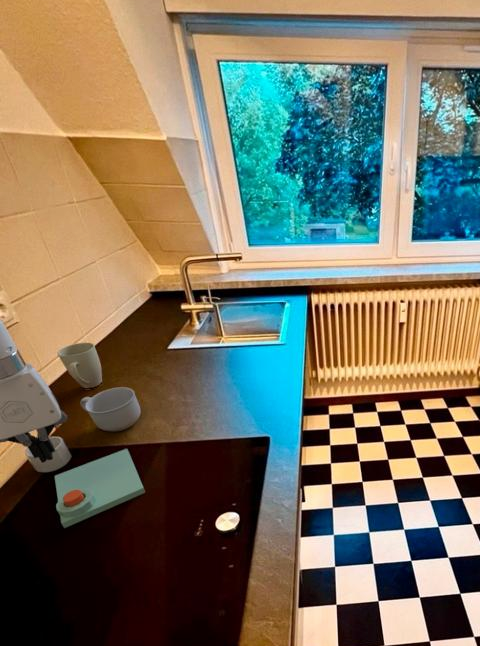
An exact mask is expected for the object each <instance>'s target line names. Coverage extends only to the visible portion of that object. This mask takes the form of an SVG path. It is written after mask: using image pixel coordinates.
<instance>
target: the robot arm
mask: <svg viewBox="0 0 480 646" xmlns="http://www.w3.org/2000/svg"><path fill="white" fill-rule="evenodd" d="M67 421H68V415H67V414H66V413H65V412H64V411H63V410H62V409H61V408H60V405H59V402H58V400H57V398H56V396H55V395H54V393H53V392H52V390H51V389H50V387H49V385H48V384H47V382H46V381H45V379H44V378H43V377H42V375H41V374H40V373H39V372H38V370H37V369H36V368H35V367H34V365H32V364H31V363H28V362H27V363H26V361H25V359H24V358H23V356H22V354H21V353H20V351H19V349H18V347H17V345H16V343H15V342H14V340H13V338H12V336H11V334H10V332H9V330H8V329H7V326H6V325H5V323H4V321H3V320H2V318H1V317H0V444H1V443H6V442H9V443H10V442H11V443H15V444H19V445H22V446H23V447H26V448H28V449H29V450H30V452H31V453H32V455H33V457H34V458H37V457H39V459H40V460H41V462H42V463H43V462H46V461H47V460H52V459H53V455H52V452H55V448H54V446H53V444H52V442H51V441H50V439H49V437H50V435H51V433H52V432H53V430H54V429H55V427H58V426H59V425H61V424H63V423H66V422H67ZM34 431H36V433H37V434H36V436H35V435H32V434H31V433H30V432H34Z"/></svg>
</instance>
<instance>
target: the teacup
mask: <svg viewBox="0 0 480 646" xmlns="http://www.w3.org/2000/svg"><path fill="white" fill-rule="evenodd" d="M79 404H80V406H81V408H82V409H83V410H84V411H85V412H87V413H88V414H89V416H90V418H91V420H92V421H93V423H94V425H95V426H96V427H97V428H99V429H100V430H102V431H106V432H121V431H125V430H127V429H129V428H131V427H132V426H134V425H135V424H136V422H137V421H138V419H139V418H140V416H141V412H142V411H141V410H142V409H141V407H140V404H139V402H138V398H137V396H136V392H135V391H134V390H133V389H132V388H130V387H125V386H122V387H121V386H120V387H113V388H108V389H106V390H102V391H100V392H98V393H96V394H95V395H92V397H90V396H85V397H83V398H82V399H81V400H80V402H79Z"/></svg>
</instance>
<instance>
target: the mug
mask: <svg viewBox="0 0 480 646" xmlns="http://www.w3.org/2000/svg"><path fill="white" fill-rule="evenodd" d="M56 354H57V356H58V357H59V359H60V361H61V363H62V364H63V366H64V368H65V369H66V371H67V372H68V374H69V375H70V376H71V377H72V379H74V380H75V381H76V383H78V384H79V385H80V386H81V387H82V388H83V387H84V388H89V387H94V386H97V385H99V384H100V383H101V382H102V383H103V378H102V377H103V374H102V373H103V372H102V365H101V364H102V363H101V360H100V357H99V355H98V352H97V349H96V346H95V344H94V343H92V342H79V343H74V344H70V345H67V346H64V347H62V348H61V349H59V350H58V351H57V353H56ZM84 388H83V389H84Z"/></svg>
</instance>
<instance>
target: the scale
mask: <svg viewBox="0 0 480 646" xmlns="http://www.w3.org/2000/svg"><path fill="white" fill-rule="evenodd" d="M54 482H55V483H54V484H55V489H56V497H57V503H56V505H55V509H56V511H57V513H58V515H59V516H60V517H59V518H60V523H61V525H62V527H63V528H64V529H66V528H68V527H71V526H73V525H75V524H77V523H80V522H82V521H84V520H86V519H88V518H90V517H93V516H95V515H98V514H100V513H102V512H104V511H107V510H109V509H111V508H113V507H115V506H118V505H120V504H123V503H125V502H127V501H130V500H132V499H134V498H136V497H138V496H141V495H143V494H145V493H146V489H145V488H144V485H143V483H142V481H141V477H140V476H139V473H138V471H137V469H136V466H135V463H134V461H133V459H132V456H131V454H130V451H129V450H128V448H124V449H122V450H119V451H117V452H114V453H111V454H109V455H106V456H103V457H100V458H98V459H95V460H93V461H90V462H87V463H85V464H82V465H79V466H77V467H74V468H72V469H69V470H67V471H63V472H61V473H58V474H56V475H54ZM73 490H80V491H81V492H82V494H83V495H84V500H83V501H82V502H81V503H80V504H78V505H76V506H73V507H68V506H66V504H65V503H64V501H63V497H64V495H65V494H67V493H68V492H70V491H73Z"/></svg>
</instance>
